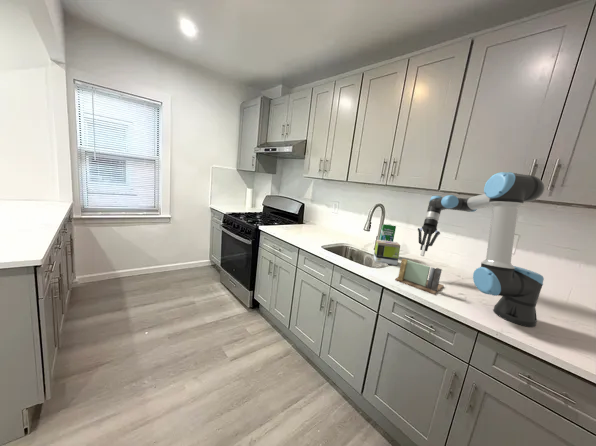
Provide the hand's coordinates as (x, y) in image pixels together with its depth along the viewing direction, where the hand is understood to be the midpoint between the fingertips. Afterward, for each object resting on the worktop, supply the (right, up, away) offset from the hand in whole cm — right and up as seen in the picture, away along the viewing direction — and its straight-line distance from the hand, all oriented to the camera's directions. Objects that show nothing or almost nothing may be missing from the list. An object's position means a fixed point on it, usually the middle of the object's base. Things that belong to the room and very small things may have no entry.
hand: (422, 255), depth 153 cm
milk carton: (-10, -5, +42) cm, 43 cm away
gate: (-11, -13, -13) cm, 22 cm away
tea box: (-15, -8, +25) cm, 30 cm away
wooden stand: (-7, -15, -10) cm, 19 cm away
